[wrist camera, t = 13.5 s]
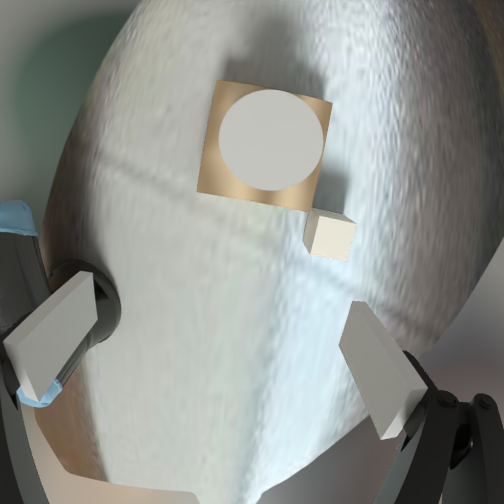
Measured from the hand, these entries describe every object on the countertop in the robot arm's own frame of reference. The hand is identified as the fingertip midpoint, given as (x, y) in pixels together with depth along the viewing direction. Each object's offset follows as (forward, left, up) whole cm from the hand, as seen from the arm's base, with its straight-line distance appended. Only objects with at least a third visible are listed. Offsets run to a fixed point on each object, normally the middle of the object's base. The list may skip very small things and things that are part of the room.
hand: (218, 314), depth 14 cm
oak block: (+2, +9, -28) cm, 29 cm away
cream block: (+12, 0, -28) cm, 31 cm away
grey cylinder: (+2, +9, -23) cm, 25 cm away
